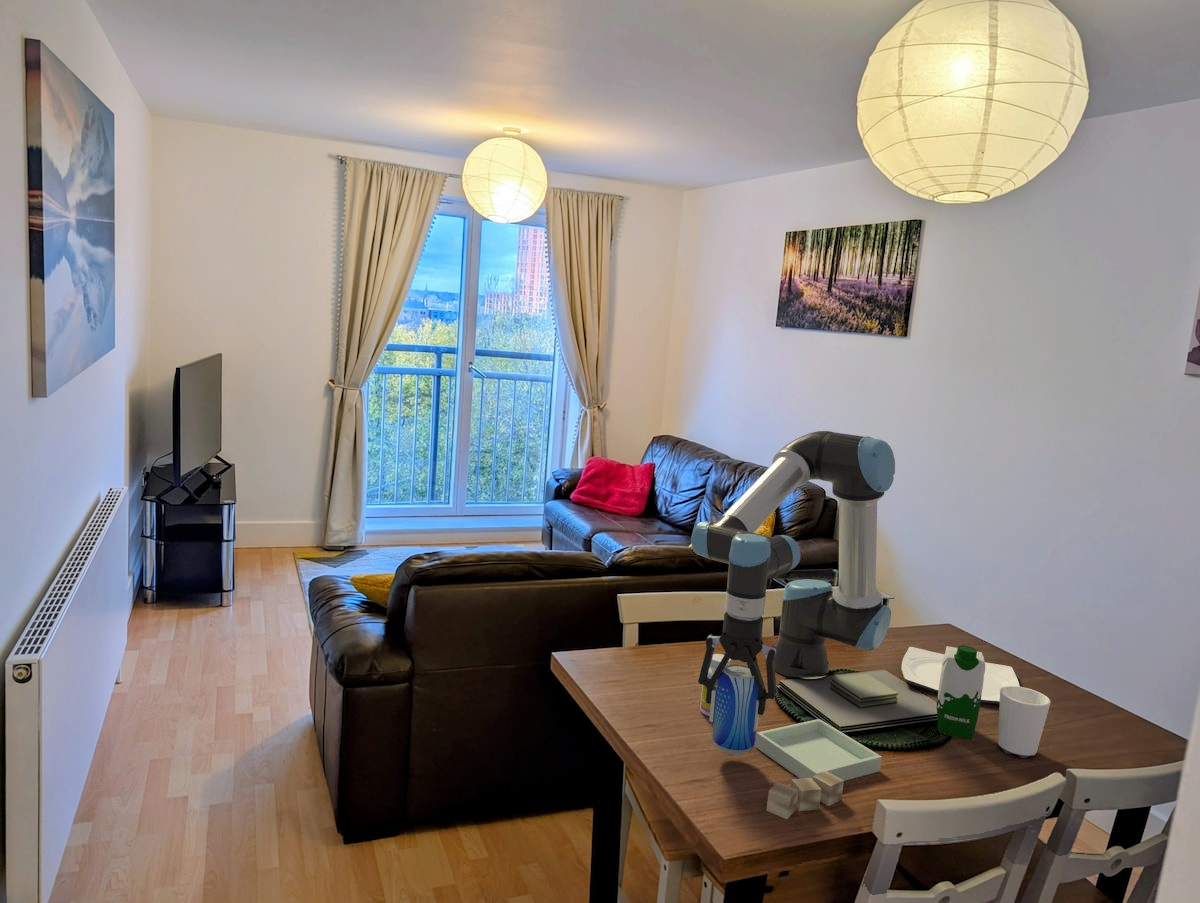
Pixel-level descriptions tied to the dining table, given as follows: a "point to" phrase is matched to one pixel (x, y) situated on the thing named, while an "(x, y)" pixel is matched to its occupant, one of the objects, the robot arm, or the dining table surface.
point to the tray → (817, 751)
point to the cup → (1021, 720)
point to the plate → (926, 674)
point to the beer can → (735, 710)
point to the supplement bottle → (713, 666)
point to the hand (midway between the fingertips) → (733, 723)
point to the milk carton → (960, 691)
